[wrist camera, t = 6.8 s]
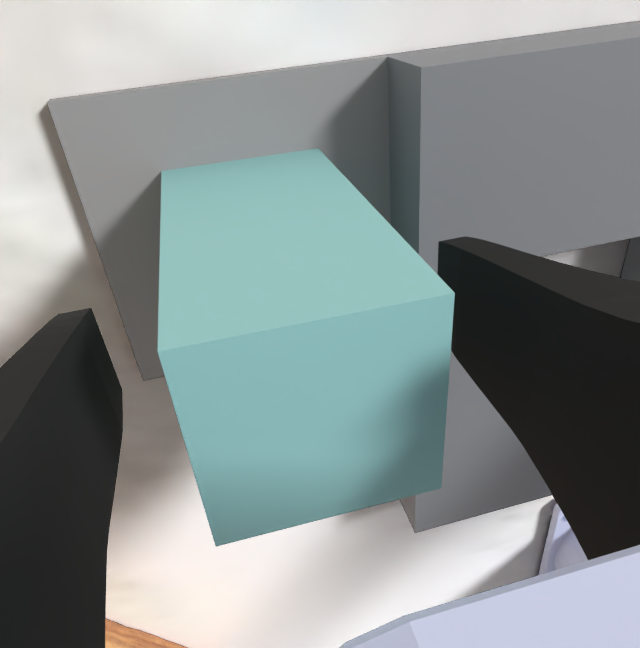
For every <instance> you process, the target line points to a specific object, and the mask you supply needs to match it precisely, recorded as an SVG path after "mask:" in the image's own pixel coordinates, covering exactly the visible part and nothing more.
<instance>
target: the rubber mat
mask: <svg viewBox="0 0 640 648" xmlns="http://www.w3.org/2000/svg"><path fill="white" fill-rule="evenodd" d="M47 104H48V107H49V110H50V113H51V116H52V119H53V122H54V125H55V128H56V130H57V133H58V136H59V139H60V142H61V145H62V148H63V151H64V154H65V156H66V159H67V162H68V165H69V168H70V171H71V174H72V177H73V180H74V182H75V185H76V188H77V191H78V194H79V197H80V200H81V203H82V205H83V208H84V211H85V214H86V217H87V220H88V223H89V226H90V229H91V231H92V234H93V237H94V240H95V243H96V246H97V249H98V252H99V255H100V257H101V260H102V263H103V266H104V269H105V272H106V275H107V278H108V281H109V283H110V286H111V289H112V292H113V295H114V298H115V301H116V304H117V306H118V309H119V312H120V315H121V318H122V321H123V324H124V327H125V330H126V332H127V335H128V338H129V341H130V344H131V347H132V350H133V353H134V356H135V358H136V361H137V364H138V367H139V370H140V373H141V376H142V379H143V381H145V380H150V379H154V378H159V377H164V376H165V375H164V372H163V368H162V365H161V361H160V358H159V355H158V307H159V262H160V217H161V172H162V171H165V170H172V169H179V168H186V167H193V166H199V165H206V164H213V163H220V162H227V161H234V160H241V159H248V158H255V157H261V156H268V155H275V154H282V153H289V152H296V151H303V150H310V149H317V148H318V149H319V150H320V151H321V152H322V153H323V154H324V155H325V156H326V157H327V158H328V159H329V160H330V161H331V162H332V163H333V164H334V166H335V167H336V168H337V169H338V170H339V171H340V172H341V173H342V174H343V175H344V176H345V177H346V178H347V179H348V180H349V181H350V182H351V184H352V185H353V186H354V187H355V188H356V189H357V190H358V191H359V192H360V193H361V194H362V195H363V196H364V197H365V198H366V199H367V200H368V202H369V203H370V204H371V205H372V206H373V207H374V208H375V209H376V210H377V211H378V212H379V213H380V214H381V215H382V216H383V217H384V218H385V220H386V221H387V222H388V223H389V224H390V225H391V210H390V153H389V97H388V57H387V56H384V55H379V56H372V57H364V58H357V59H349V60H342V61H334V62H327V63H319V64H312V65H304V66H297V67H289V68H282V69H274V70H267V71H259V72H252V73H244V74H237V75H229V76H222V77H214V78H207V79H199V80H192V81H184V82H177V83H169V84H162V85H154V86H147V87H139V88H132V89H124V90H117V91H109V92H102V93H94V94H87V95H79V96H72V97H64V98H57V99H50V100H49V101H48V102H47Z"/></svg>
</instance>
